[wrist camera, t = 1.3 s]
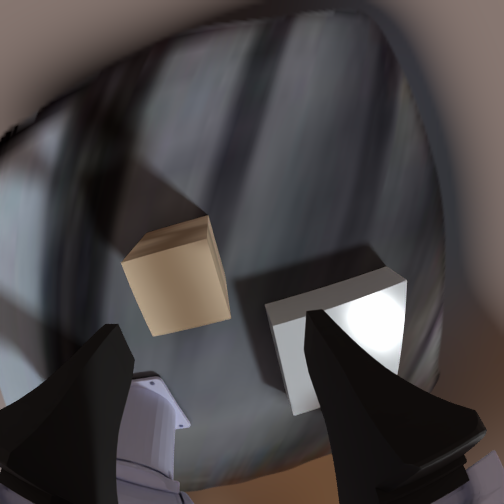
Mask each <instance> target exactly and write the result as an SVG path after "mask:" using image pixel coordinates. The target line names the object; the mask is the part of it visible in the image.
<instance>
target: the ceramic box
mask: <svg viewBox="0 0 504 504" xmlns="http://www.w3.org/2000/svg"><path fill="white" fill-rule="evenodd" d="M406 289H407V280H406V279H404V278H403V277H401V276H400V275H399V274H397V273H396V272H394V271H393V270H391V269H390V268H388V267H387V266H386V267H383V268H380V269H377V270H374V271H371V272H368V273H366V274H363V275H360V276H357V277H354V278H351V279H347V280H344V281H341V282H338V283H335V284H332V285H329V286H326V287H322V288H319V289H316V290H313V291H309V292H306V293H303V294H299V295H296V296H293V297H289V298H286V299H282V300H279V301H275V302H272V303H268V304H264V305H265V309H266V313H267V317H268V321H269V326H270V330H271V334H272V338H273V342H274V346H275V350H276V354H277V359H278V363H279V367H280V371H281V375H282V379H283V383H284V387H285V391H286V395H287V398H288V401H289V404H290V407H291V410H292V413H293V415H294V416H295V415H298V414H301V413H305V412H308V411H311V410H314V409H317V408H320V405H319V402H318V399H317V396H316V393H315V390H314V387H313V384H312V382H311V379H310V376H309V373H308V368H307V364H306V359H305V354H304V337H305V323H306V311H311V310H318V309H323V310H324V311H325V312H326V313H327V314H328V315H329V316H330V317H331V318H332V319H333V320H334V321H335V322H336V323H337V324H338V325H339V326H340V327H341V328H342V329H343V330H344V331H345V332H346V333H347V334H348V335H349V336H350V337H351V338H352V339H353V340H354V341H355V342H356V343H357V344H358V345H359V346H360V347H362V348H363V349H364V350H365V351H366V352H367V353H368V354H370V355H371V356H372V357H373V358H375V359H376V360H377V361H378V362H380V363H381V364H382V365H383V366H385V367H386V368H388V369H389V370H390V371H392V372H393V373H395V374H396V375H397V373H398V367H399V360H400V354H401V346H402V338H403V329H404V319H405V306H406Z"/></svg>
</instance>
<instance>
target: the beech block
mask: <svg viewBox="0 0 504 504" xmlns="http://www.w3.org/2000/svg"><path fill="white" fill-rule="evenodd" d="M121 264H122V267H123V269H124V272H125V274H126V277H127V279H128V282H129V284H130V287H131V289H132V291H133V294H134V296H135V298H136V301H137V303H138V305H139V308H140V310H141V312H142V314H143V316H144V319H145V321H146V323H147V325H148V327H149V329H150V331H151V333H152V335H153V336H158V335H163V334H168V333H172V332H177V331H181V330H186V329H190V328H194V327H199V326H203V325H207V324H211V323H215V322H219V321H223V320H227V319H231V314H230V307H229V300H228V293H227V286H226V278H225V273H224V270H223V266H222V263H221V259H220V256H219V252H218V249H217V245H216V241H215V238H214V234H213V231H212V227H211V223H210V220H209V216H208V215H207V216H204V217H200V218H196V219H193V220H189V221H185V222H182V223H178V224H175V225H171V226H168V227H165V228H161V229H158V230H154V231H151V232H148V233H146V234H145V235H144V236H143V237H142V239H141V240H140V241H139V242H138V243H137V244H136V246H135V247H134V248H133V249H132V250H131V251H130V253H129V254H128V255H127V256H126V257H125V259H124V260H123V261H122V262H121Z"/></svg>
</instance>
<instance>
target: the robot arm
mask: <svg viewBox="0 0 504 504" xmlns="http://www.w3.org/2000/svg"><path fill="white" fill-rule="evenodd" d="M304 354H305V359H306V364H307V368H308V373H309V376H310V379H311V382H312V384H313V387H314V390H315V393H316V396H317V399H318V402H319V405H320V408H321V411H322V413H323V416H324V419H325V423H326V426H327V431H328V435H329V440H330V445H331V450H332V455H333V461H334V467H335V473H336V480H337V487H338V496H339V503H340V504H504V468H503V466H502V464H501V461H500V460H499V457H498V455H497V453H496V451H495V450H493V451H491V452H490V453H489V454H488V455H486V456H485V457H484V458H482V459H481V460H479V461H478V462H476V463H475V464H473V465H472V466H471V467H469V468H468V469H466V470H465V468H464V466H463V465H464V464H465V463H466V462H467V460H466V458H465V456H464V454H465V453H466V452H467V451H469V450H470V449H471V448H472V447H473V446H475V444H477V443H478V442H479V441H480V440H481V439H482V438H483V437H484V436H485V434H486V431H487V430H486V428H485V426H484V424H483V422H482V421H481V419H480V417H479V415H478V414H477V412H476V411H475V410H472V409H469V408H466V407H463V406H460V405H457V404H454V403H451V402H448V401H446V400H443V399H441V398H439V397H436V396H434V395H432V394H430V393H428V392H426V391H424V390H422V389H420V388H418V387H416V386H415V385H413V384H411V383H409V382H407V381H406V380H404V379H402V378H401V377H399V376H398V375H396V374H395V373H393V372H392V371H390V370H389V369H388V368H386V367H385V366H383V365H382V364H381V363H380V362H378V361H377V360H376V359H375V358H373V357H372V356H371V355H370V354H368V353H367V352H366V351H365V350H364V349H363V348H362V347H360V346H359V345H358V344H357V343H356V342H355V341H354V340H353V339H352V338H351V337H350V336H349V335H348V334H347V333H346V332H345V331H344V330H343V329H342V328H341V327H340V326H339V325H338V324H337V323H336V322H335V321H334V320H333V319H332V318H331V317H330V316H329V315H328V314H327V313H326V312H325V311H324V310H323V309H318V310H311V311H306V323H305V337H304ZM134 361H135V359H134V357H133V355H132V353H131V351H130V349H129V347H128V345H127V343H126V340H125V338H124V336H123V334H122V331H121V329H120V327H119V325H118V324H105V325H104V326H103V327H101V328H100V329H99V330H98V331H97V332H96V333H95V334H94V335H93V336H92V337H91V338H90V339H89V340H88V341H87V342H86V343H85V344H84V345H83V346H82V347H81V348H80V349H79V350H78V351H77V352H76V353H75V354H74V355H73V356H72V357H71V358H70V359H69V360H68V361H67V362H65V363H64V364H63V365H62V366H61V367H60V368H59V369H58V370H57V371H56V372H55V373H54V374H53V375H51V376H50V377H49V378H48V379H47V380H45V381H44V382H43V383H42V384H40V385H39V386H38V387H37V388H35V389H34V390H32V391H31V392H29V393H28V394H26V395H25V396H23V397H22V398H20V399H19V400H17V401H16V402H14V403H12V404H10V405H9V406H7V407H5V408H3V409H1V410H0V467H1V468H2V469H1V472H0V504H194V503H193V502H192V500H191V499H190V497H189V496H188V495H187V494H186V493H185V492H181V491H179V481H175V480H173V468H174V442H175V429H180V428H188V427H190V422H189V420H188V419H187V417H186V416H185V414H184V413H183V411H182V410H181V408H180V407H179V405H178V404H177V402H176V401H175V399H174V397H173V396H172V394H171V393H170V391H169V389H168V388H167V386H166V385H165V383H164V381H163V380H162V378H160V377H158V376H154V377H148V378H141V379H134V380H132V376H133V369H134ZM151 381H152V382H151Z"/></svg>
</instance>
